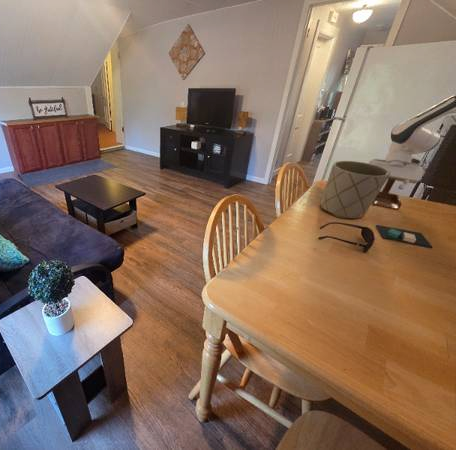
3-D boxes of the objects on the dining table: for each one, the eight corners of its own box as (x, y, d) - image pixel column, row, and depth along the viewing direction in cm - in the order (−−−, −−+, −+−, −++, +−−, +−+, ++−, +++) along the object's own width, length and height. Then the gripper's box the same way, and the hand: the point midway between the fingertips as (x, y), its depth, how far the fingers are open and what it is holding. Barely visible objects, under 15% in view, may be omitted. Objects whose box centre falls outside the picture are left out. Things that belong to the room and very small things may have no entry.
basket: (369, 193, 126) (379, 175, 121) (394, 198, 121) (405, 179, 116) (370, 204, 116) (381, 184, 111) (398, 210, 111) (410, 189, 106)
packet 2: (405, 237, 89) (403, 240, 90) (416, 239, 88) (413, 243, 88) (403, 232, 92) (401, 235, 93) (414, 234, 90) (412, 238, 91)
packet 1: (388, 231, 92) (386, 234, 93) (398, 235, 90) (396, 238, 91) (392, 228, 94) (389, 231, 95) (401, 231, 92) (399, 235, 93)
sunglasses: (370, 257, 82) (378, 245, 80) (317, 242, 89) (322, 231, 87) (367, 238, 92) (373, 226, 89) (319, 226, 99) (323, 215, 96)
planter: (308, 201, 118) (323, 161, 107) (346, 200, 119) (365, 160, 108) (334, 222, 102) (355, 176, 91) (378, 221, 102) (404, 176, 92)
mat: (420, 234, 94) (421, 232, 94) (431, 248, 87) (432, 247, 86) (376, 225, 99) (376, 224, 99) (383, 238, 92) (383, 237, 91)
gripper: (372, 154, 123) (364, 179, 121) (427, 162, 113) (419, 188, 111) (368, 161, 128) (360, 184, 127) (420, 169, 119) (412, 194, 117)
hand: (388, 186), depth 119 cm, fingers open, 8 cm apart
